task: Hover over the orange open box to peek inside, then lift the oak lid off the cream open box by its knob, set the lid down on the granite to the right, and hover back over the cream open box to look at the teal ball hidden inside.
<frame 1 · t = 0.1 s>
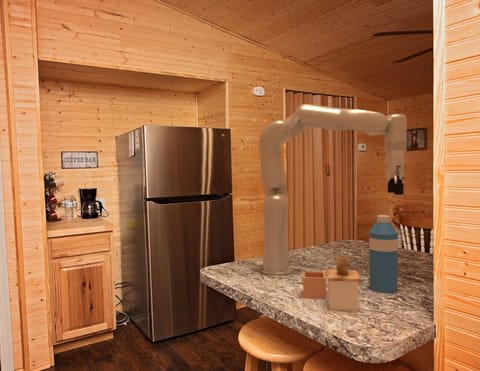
hand: (395, 193, 138), 31 cm above the kitchen island, fingers open, 9 cm apart
ball: (342, 304, 109), point 1 cm above the kitchen island, touching cream open box
cream open box: (342, 306, 109), on the kitchen island
lid: (342, 276, 109), point 9 cm above the kitchen island, touching cream open box
orange open box: (314, 296, 118), on the kitchen island
water bottle: (383, 290, 123), on the kitchen island
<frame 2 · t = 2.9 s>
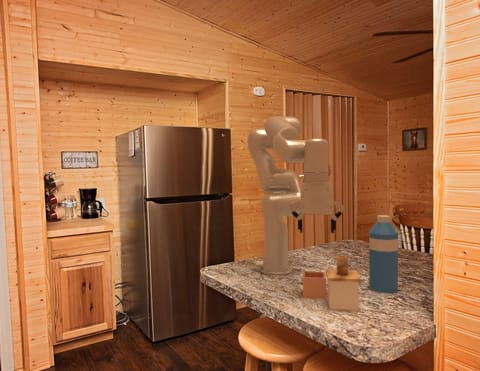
hand: (316, 232, 116), 21 cm above the kitchen island, fingers open, 9 cm apart
nothing on the kitchen island moved.
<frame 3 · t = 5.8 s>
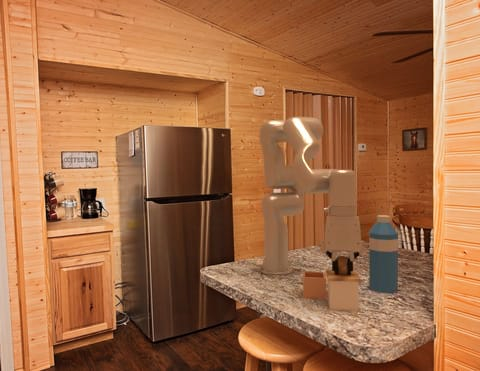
hand: (342, 272, 109), 10 cm above the kitchen island, fingers closed on lid, 3 cm apart
lid: (342, 276, 109), point 9 cm above the kitchen island, touching cream open box, gripper
everything else where it was.
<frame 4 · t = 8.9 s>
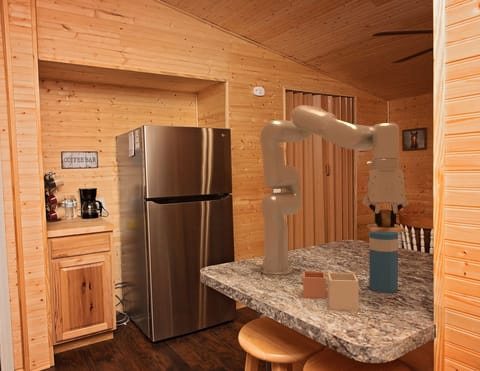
hand: (385, 225, 111), 24 cm above the kitchen island, fingers closed on lid, 3 cm apart
lid: (385, 229, 111), point 22 cm above the kitchen island, touching gripper
everything else where it was.
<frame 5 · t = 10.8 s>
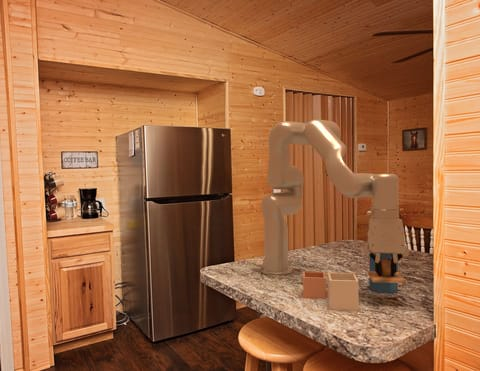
hand: (385, 274, 111), 9 cm above the kitchen island, fingers closed on lid, 3 cm apart
lid: (385, 278, 111), point 8 cm above the kitchen island, touching gripper
everything else where it was.
when the fingers open (3 cm above the kitchen island, at t = 12.2 s): lid drops 2 cm, on the kitchen island.
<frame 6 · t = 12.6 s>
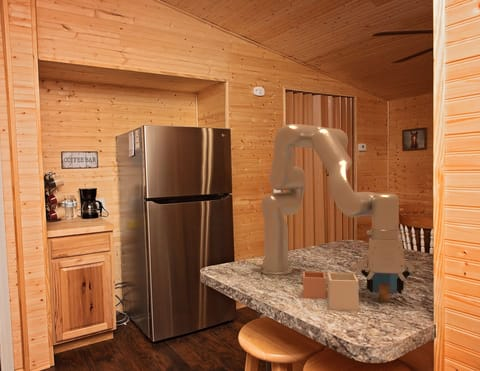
hand: (384, 291, 112), 3 cm above the kitchen island, fingers open, 7 cm apart
lid: (384, 304, 112), on the kitchen island
everything else where it was.
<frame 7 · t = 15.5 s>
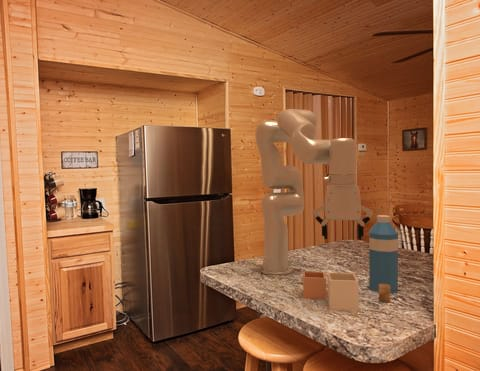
hand: (342, 238, 108), 20 cm above the kitchen island, fingers open, 9 cm apart
nothing on the kitchen island moved.
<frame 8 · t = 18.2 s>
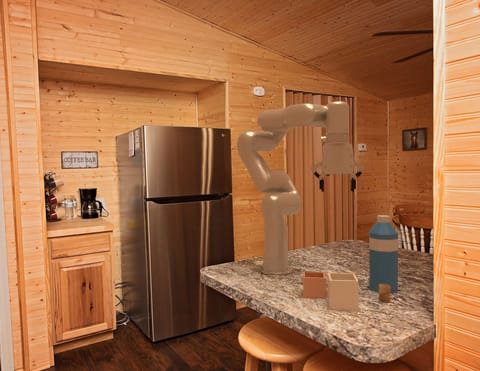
hand: (337, 191, 122), 33 cm above the kitchen island, fingers open, 9 cm apart
nothing on the kitchen island moved.
at the end: lid inside the target area (0.1 cm from its centre), on the kitchen island; lid tilted 0°; lid touching kitchen island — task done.
